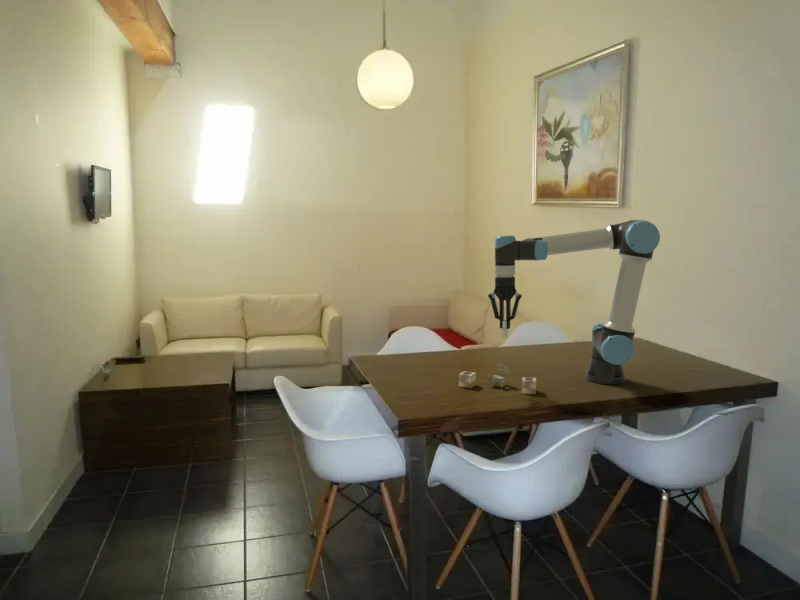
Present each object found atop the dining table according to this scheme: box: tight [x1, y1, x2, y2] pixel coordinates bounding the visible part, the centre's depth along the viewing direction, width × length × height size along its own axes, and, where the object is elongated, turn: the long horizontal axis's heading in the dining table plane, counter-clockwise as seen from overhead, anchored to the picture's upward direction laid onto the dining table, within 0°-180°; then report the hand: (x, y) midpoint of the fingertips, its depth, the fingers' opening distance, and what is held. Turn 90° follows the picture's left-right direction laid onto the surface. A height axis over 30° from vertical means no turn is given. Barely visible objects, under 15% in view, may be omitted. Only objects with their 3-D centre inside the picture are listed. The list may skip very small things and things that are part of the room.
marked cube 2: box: [521, 376, 537, 395], centre depth 235 cm, size 5×5×5 cm
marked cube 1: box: [458, 370, 477, 389], centre depth 243 cm, size 5×5×5 cm
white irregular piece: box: [487, 363, 510, 389], centre depth 242 cm, size 9×6×10 cm
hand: (505, 336), depth 241 cm, fingers closed
